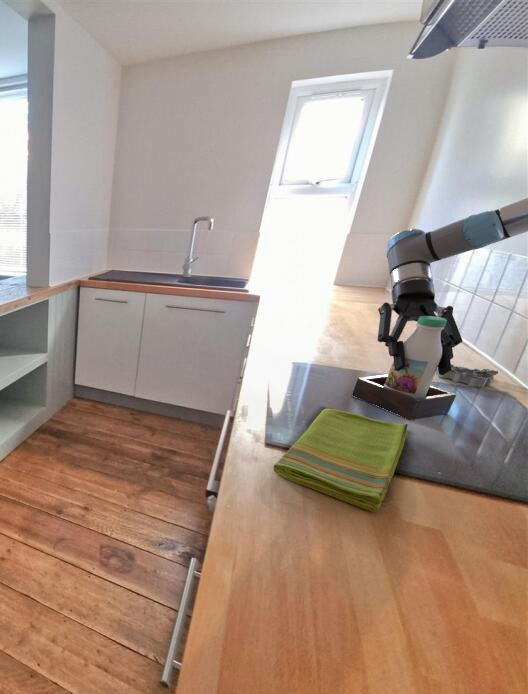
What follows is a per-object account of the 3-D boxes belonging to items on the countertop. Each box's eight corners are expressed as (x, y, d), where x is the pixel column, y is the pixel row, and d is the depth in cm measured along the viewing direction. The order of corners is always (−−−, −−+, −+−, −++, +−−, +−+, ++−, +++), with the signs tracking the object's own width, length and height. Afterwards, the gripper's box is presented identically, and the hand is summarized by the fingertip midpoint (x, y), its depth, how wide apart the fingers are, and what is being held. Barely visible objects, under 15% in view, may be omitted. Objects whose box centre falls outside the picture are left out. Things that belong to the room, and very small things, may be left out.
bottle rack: (447, 413, 97) (456, 394, 95) (408, 420, 94) (417, 400, 92) (387, 391, 109) (394, 373, 107) (351, 396, 106) (357, 378, 104)
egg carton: (494, 385, 112) (502, 371, 110) (477, 389, 110) (484, 375, 108) (447, 371, 121) (453, 358, 119) (430, 374, 119) (435, 361, 117)
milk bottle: (402, 391, 104) (433, 313, 96) (431, 404, 97) (468, 321, 89) (372, 391, 104) (401, 313, 96) (399, 405, 97) (433, 322, 89)
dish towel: (269, 474, 75) (274, 459, 74) (321, 412, 97) (325, 400, 96) (377, 517, 65) (384, 500, 63) (407, 436, 87) (413, 423, 86)
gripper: (452, 298, 102) (466, 381, 94) (354, 293, 108) (360, 372, 100) (476, 279, 95) (493, 368, 88) (370, 275, 101) (377, 358, 94)
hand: (422, 370), depth 94 cm, fingers closed on milk bottle, 8 cm apart
